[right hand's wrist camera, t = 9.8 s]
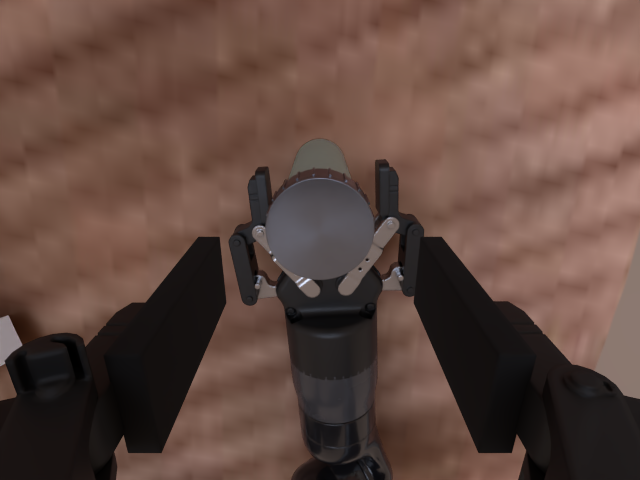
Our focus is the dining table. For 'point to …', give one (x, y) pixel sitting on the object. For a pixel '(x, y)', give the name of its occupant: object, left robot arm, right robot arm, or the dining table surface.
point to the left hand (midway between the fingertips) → (321, 165)
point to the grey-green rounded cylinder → (319, 157)
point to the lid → (319, 224)
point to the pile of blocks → (7, 339)
